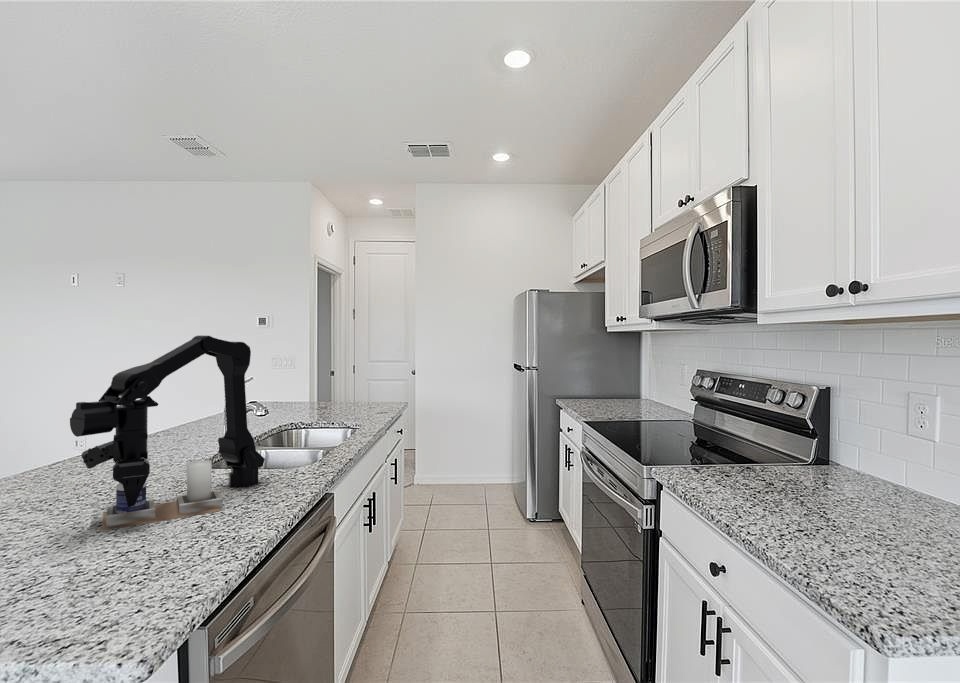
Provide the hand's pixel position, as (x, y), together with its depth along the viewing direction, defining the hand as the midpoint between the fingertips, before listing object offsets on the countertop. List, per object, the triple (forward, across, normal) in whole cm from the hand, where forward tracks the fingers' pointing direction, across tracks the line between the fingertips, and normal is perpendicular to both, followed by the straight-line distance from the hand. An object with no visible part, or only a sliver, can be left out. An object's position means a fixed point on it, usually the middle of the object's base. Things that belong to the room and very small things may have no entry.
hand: (131, 500), depth 109 cm
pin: (+4, 0, +13) cm, 13 cm away
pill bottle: (+4, 0, 0) cm, 4 cm away
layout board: (+5, 0, +6) cm, 8 cm away
